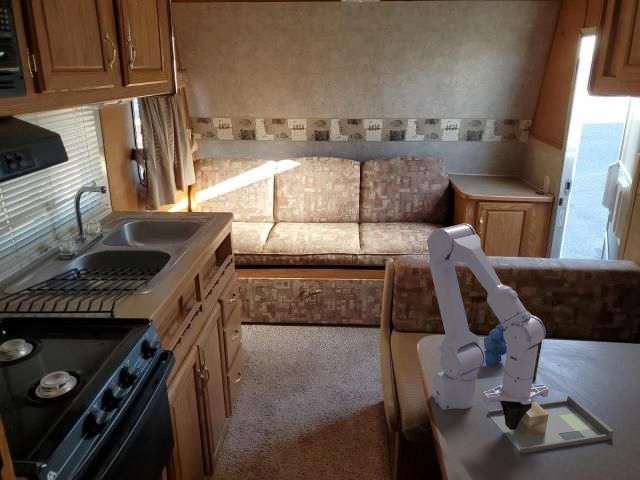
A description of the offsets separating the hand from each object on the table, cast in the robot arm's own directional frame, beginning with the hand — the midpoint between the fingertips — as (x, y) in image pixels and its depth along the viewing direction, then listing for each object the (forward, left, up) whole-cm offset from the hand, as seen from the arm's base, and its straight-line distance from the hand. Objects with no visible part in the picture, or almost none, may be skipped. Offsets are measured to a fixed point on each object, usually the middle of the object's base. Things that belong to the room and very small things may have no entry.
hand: (510, 426), depth 106 cm
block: (+5, 0, -1) cm, 5 cm away
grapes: (+13, +29, -3) cm, 32 cm away
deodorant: (+16, +19, -3) cm, 25 cm away
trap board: (+9, 0, -3) cm, 10 cm away
